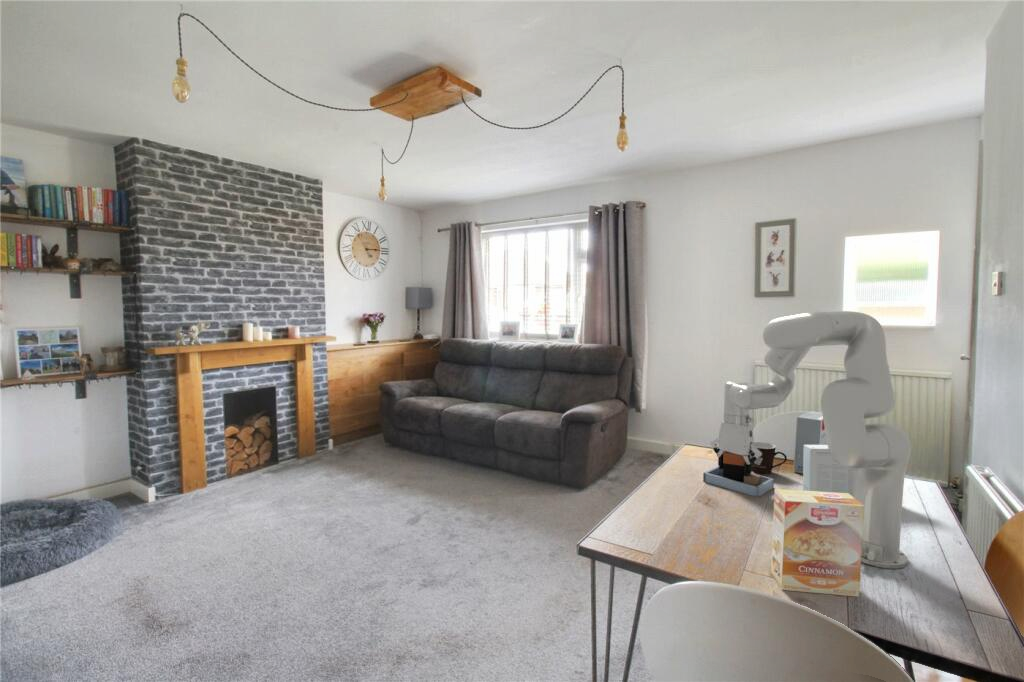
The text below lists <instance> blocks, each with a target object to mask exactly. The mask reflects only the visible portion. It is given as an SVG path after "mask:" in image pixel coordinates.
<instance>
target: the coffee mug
mask: <svg viewBox="0 0 1024 682" xmlns="http://www.w3.org/2000/svg"><path fill="white" fill-rule="evenodd" d="M754 446H755V447H756V448H757V449H758V450H759V451H760V452H761V453H762V455H761V456H760V457H759V458H758V459H757V460H756V461H754V462H753V463H752V472H751V473H753V474H757V475H770V474H772V471H773V469H774V468H776V467H779V466H781V465H784V464H785V463H786V462H787V459H788V458H787V454H785V453H783V452H782V451H777V452H776V448H777V446H776V445H775V444H773V443H769V442H765V441H757V440H756V441H755V440H754ZM778 454H780V455H782V456H783V457H784V460H783V461H782V462H780V463H777V464H775V465H773V464H774V458H775V457H776V455H778ZM754 455H755V453H754V452H753V453H752V454H751V456H752V457H753V456H754Z"/></svg>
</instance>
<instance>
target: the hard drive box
mask: <svg viewBox="0 0 1024 682" xmlns="http://www.w3.org/2000/svg"><path fill="white" fill-rule="evenodd" d="M794 444H795V445H794V456H793V458H794V459H793V472H794V473H799V474H802V475H803V451H804V445H827V439H826V433H825V427H824V421H823V414H822V411H815V410H814V411H813V410H811V411H807V412H805V413H803V414H801V415H799V416H797V417H796V426H795V442H794Z"/></svg>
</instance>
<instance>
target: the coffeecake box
mask: <svg viewBox="0 0 1024 682" xmlns="http://www.w3.org/2000/svg"><path fill="white" fill-rule="evenodd" d="M773 494H774V495H773V496H774V497H773V519H772V538H771V539H772V540H771V558H770V559H771V560H770V562H771V563H770V564H771V565H770V573H771V574H772V576H773V578H774V580H775V581H776V583H777V584H778V587H779V588H780V590H782V591H790V592H802V593H803V592H804V593H812V594H814V593H815V594H823V595H824V594H825V595H833V596H845V597H846V596H848V597H857V598H858V597H860V587H861V586H860V585H861V571H862V569H861V568H862V567H861V566H862V562H861V554H862V538H863V521H864V505H863V504H861V503H860V502H859V501H858V500H856V499H855V498H854V497H853V496H851V495H850V494H849V493H835V492H819V491H803V489H802V490H801V489H800V490H797V489H786V488H785V489H784V488H783V489H782V488H774V493H773Z"/></svg>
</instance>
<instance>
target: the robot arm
mask: <svg viewBox="0 0 1024 682" xmlns="http://www.w3.org/2000/svg"><path fill="white" fill-rule="evenodd" d="M762 339H763V342H764V344H765V345H766V346H767V347H768V348H769V349H768V351H766V353H765V355H764V357H763V361H764V363H765V365H766V366H767V368H769V370H771V371H772V372H774V373H775V374H774V375H773V377H772V378H771V379H770V381H768V383H756V384H755V383H754V384H749V383H748V382H747V381H745V380H728V381H726V382H725V384H724V390H723V391H724V393H723V395H724V396H723V420H722V421H721V423H720V426H719V432H718V438H716V439H715V440H712V441H710V442H709V444H710V446H711V447H712V449H713V452H714V453H715V454H716V457H717V458H718V459H717V460H718V461H717V465H718V466H719V469H723V453H724V452H729V453H733V454H737V455H741V456H743V458H744V459H745V461H746V464H744V476H747V475H749V474H750V473H753V472H752V463H753V462H754V461H756V460H757V459H758V458H759V457H760V456H761V455H762V453H761V452H760V451H759V450H758V449H757V448H756V447H755V446H754V441H755V440H754V439H755V438H754V437H755V436H754V430H753V425H752V424H751V423H754V418H752V417H751V415H750V410H759V409H768V408H769V409H770V408H776V407H778V406H780V405H781V404H782V403H784V401H785V400H786V399H787V398H788V397H789V395H790V394H791V393H792V392H793V389H794V387H795V382H796V376H795V370H796V368H797V367H798V366H799V364H800V363H801V362H802V361H803V359H804V358H805V357H806V355H807V354H808V353H809V351H810V350H811V349H812V347H820V346H821V347H822V346H823V347H825V346H839V345H840V346H841V345H842V346H847V349H846V350H845V353H844V358H843V367H844V372H845V378H841V379H836V380H834V381H832V382H831V381H830V382H829V383H827V385H826V386H825V387H824V389H823V391H822V393H821V398H820V399H821V400H820V406H821V412H822V414H823V421H824V427H825V433H826V439H827V445H828V448H829V451H830V454H831V456H832V457H833V459H834V460H835V461H836V462H837V463H838V464H839V465H841V466H843V467H845V468H849V469H855V472H854V475H853V483H852V496H853V497H854V498H855V499H856V500H858V501H859V502H860V503H861V504H863V505H864V521H863V538H862V554H861V563H863V564H867V565H868V566H869V565H870V566H873V567H877V568H882V569H894V570H895V569H901V568H904V567H906V566H907V565H908V561H909V560H908V557H907V555H906V554H905V553H904V552H903V551H902V550H900V547H901V546H900V545H901V532H902V528H901V527H902V514H903V513H902V512H903V499H904V485H905V476H906V472H907V467H908V464H909V461H910V457H911V452H912V445H911V441H910V439H909V436H908V435H907V434H906V433H905V432H904V431H903V430H902V429H901V428H899V427H897V426H895V425H893V424H889V423H882V422H881V423H868V424H866V421H865V419H874V418H876V419H877V418H881V417H882V418H883V417H886V416H888V415H889V414H892V411H893V410H894V409H895V404H896V403H895V396H894V395H895V394H894V390H893V384H892V378H891V377H892V376H891V372H890V367H889V363H888V358H887V345H886V341H887V340H886V336H885V331H884V328H883V327H882V324H881V323H880V321H878V320H877V319H876V318H874V317H873V316H872V315H871V314H870V315H869V314H867V313H864V312H860V311H850V310H847V311H846V310H844V311H843V310H835V311H810V312H804V313H798V314H794V315H789V316H782V317H777V318H774V319H772V320H771V321H769V322H767V324H766V325H765V327H764V329H763V332H762ZM753 452H754V453H755V455H754V456H753V457H752V456H751V454H752V453H753Z"/></svg>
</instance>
